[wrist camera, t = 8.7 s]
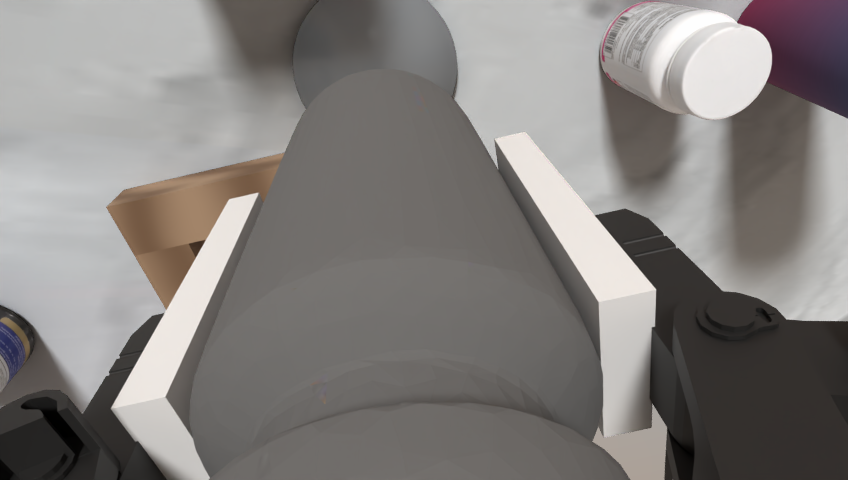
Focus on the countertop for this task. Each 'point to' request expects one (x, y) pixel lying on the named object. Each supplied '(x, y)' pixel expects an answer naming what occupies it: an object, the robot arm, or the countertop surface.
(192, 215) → the brown wooden square frame
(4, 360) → the pill bottle
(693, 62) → the pill bottle
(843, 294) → the countertop surface
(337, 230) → the bottle
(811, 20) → the cup
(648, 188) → the countertop surface
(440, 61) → the coaster
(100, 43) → the countertop surface
